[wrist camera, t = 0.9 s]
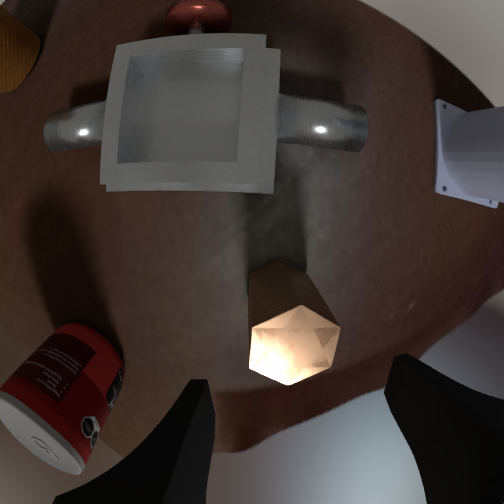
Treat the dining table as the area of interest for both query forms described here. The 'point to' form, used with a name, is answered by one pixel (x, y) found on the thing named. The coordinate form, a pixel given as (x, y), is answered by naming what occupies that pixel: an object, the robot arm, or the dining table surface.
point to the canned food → (63, 396)
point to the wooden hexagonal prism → (288, 324)
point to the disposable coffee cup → (15, 51)
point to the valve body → (200, 111)
